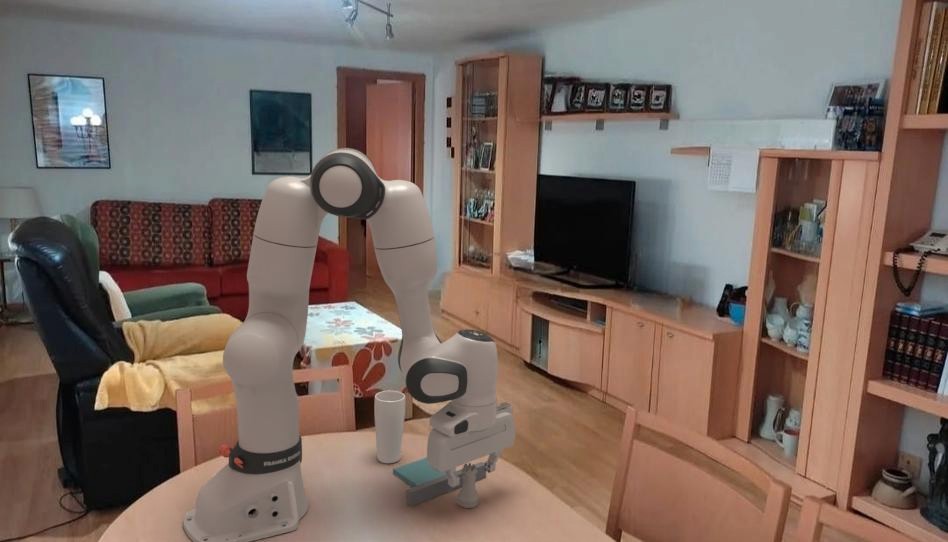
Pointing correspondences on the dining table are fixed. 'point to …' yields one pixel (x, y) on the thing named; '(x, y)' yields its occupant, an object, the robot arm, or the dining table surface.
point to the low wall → (438, 486)
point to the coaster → (417, 472)
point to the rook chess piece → (468, 487)
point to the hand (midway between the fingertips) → (472, 477)
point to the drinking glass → (389, 425)
